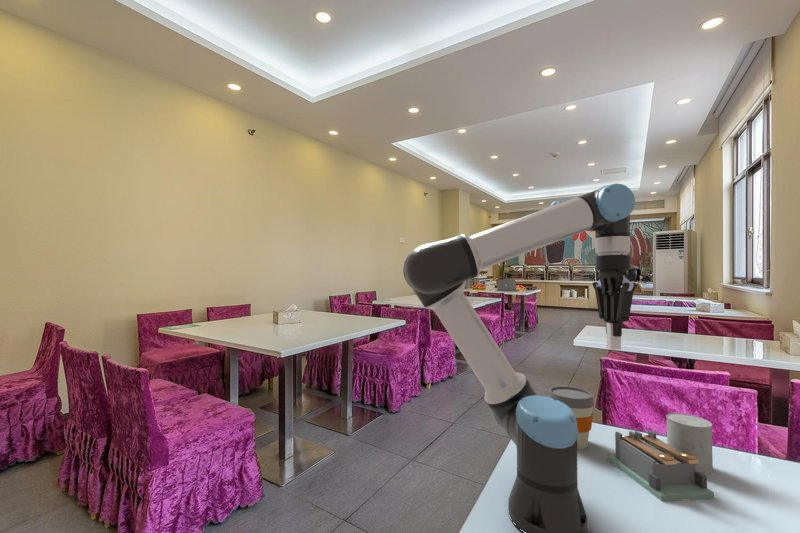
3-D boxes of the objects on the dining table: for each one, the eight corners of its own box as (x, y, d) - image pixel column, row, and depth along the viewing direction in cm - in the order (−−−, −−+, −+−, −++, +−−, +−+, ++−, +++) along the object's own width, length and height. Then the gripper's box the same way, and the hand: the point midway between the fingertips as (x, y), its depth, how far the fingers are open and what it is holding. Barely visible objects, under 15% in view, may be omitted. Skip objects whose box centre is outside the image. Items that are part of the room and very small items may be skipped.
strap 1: (665, 466, 81) (665, 458, 81) (619, 440, 96) (619, 434, 96) (677, 465, 81) (676, 458, 81) (629, 440, 96) (628, 433, 96)
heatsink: (661, 500, 79) (660, 463, 79) (607, 459, 97) (607, 429, 97) (714, 497, 80) (713, 461, 81) (651, 457, 98) (650, 428, 98)
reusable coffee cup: (542, 432, 114) (542, 385, 115) (581, 432, 114) (580, 386, 114) (559, 451, 101) (559, 398, 102) (603, 452, 101) (602, 399, 102)
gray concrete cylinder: (661, 454, 100) (660, 411, 100) (702, 460, 97) (701, 415, 97) (675, 472, 91) (674, 424, 91) (721, 479, 88) (720, 429, 88)
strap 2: (688, 465, 81) (687, 457, 81) (638, 439, 96) (638, 433, 96) (699, 464, 82) (698, 457, 82) (648, 439, 96) (647, 433, 97)
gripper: (646, 253, 82) (648, 354, 82) (609, 256, 95) (610, 344, 95) (616, 252, 82) (618, 354, 81) (582, 256, 95) (583, 344, 94)
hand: (613, 348), depth 88 cm, fingers closed
